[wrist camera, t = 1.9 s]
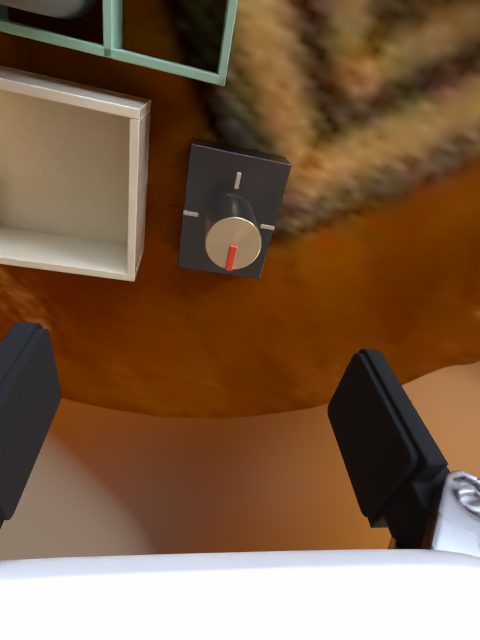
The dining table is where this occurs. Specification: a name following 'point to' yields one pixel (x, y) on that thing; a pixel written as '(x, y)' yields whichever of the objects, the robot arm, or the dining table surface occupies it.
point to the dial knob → (231, 233)
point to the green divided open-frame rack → (114, 40)
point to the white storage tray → (72, 176)
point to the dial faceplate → (229, 180)
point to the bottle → (54, 7)
